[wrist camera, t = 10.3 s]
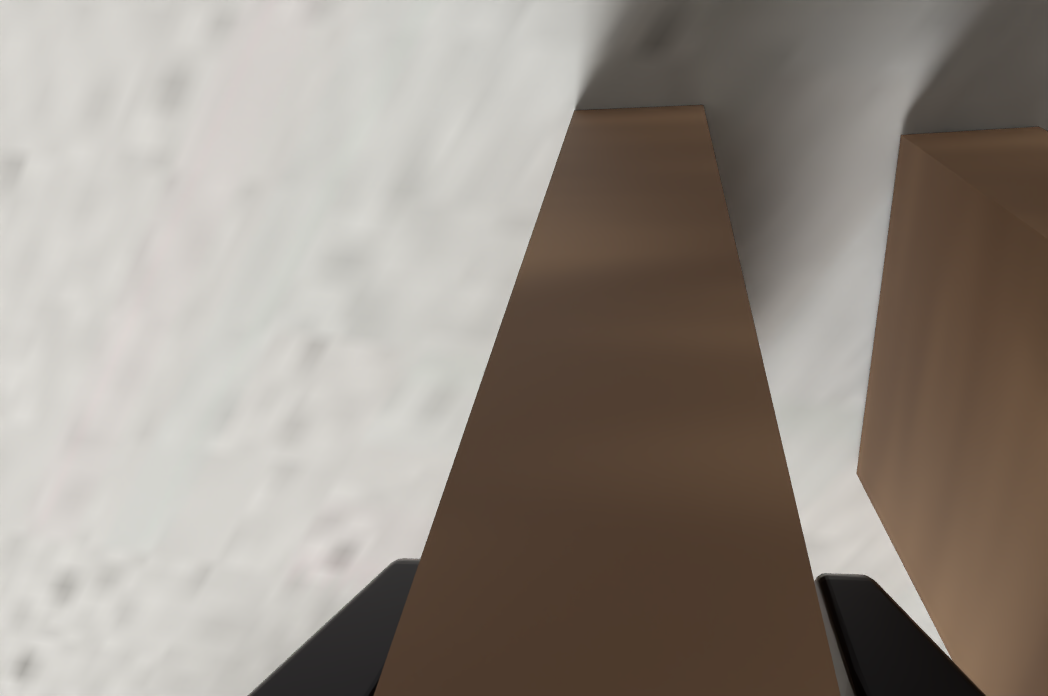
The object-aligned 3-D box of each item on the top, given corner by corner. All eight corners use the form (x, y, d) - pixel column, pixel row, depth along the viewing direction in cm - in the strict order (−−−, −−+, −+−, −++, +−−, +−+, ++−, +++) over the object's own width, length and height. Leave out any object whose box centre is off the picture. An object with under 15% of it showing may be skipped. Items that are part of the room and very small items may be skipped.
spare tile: (703, 105, 11) (929, 1088, 2) (695, 441, 13) (784, 1576, 4) (574, 110, 11) (264, 1011, 2) (589, 439, 13) (468, 1513, 5)
